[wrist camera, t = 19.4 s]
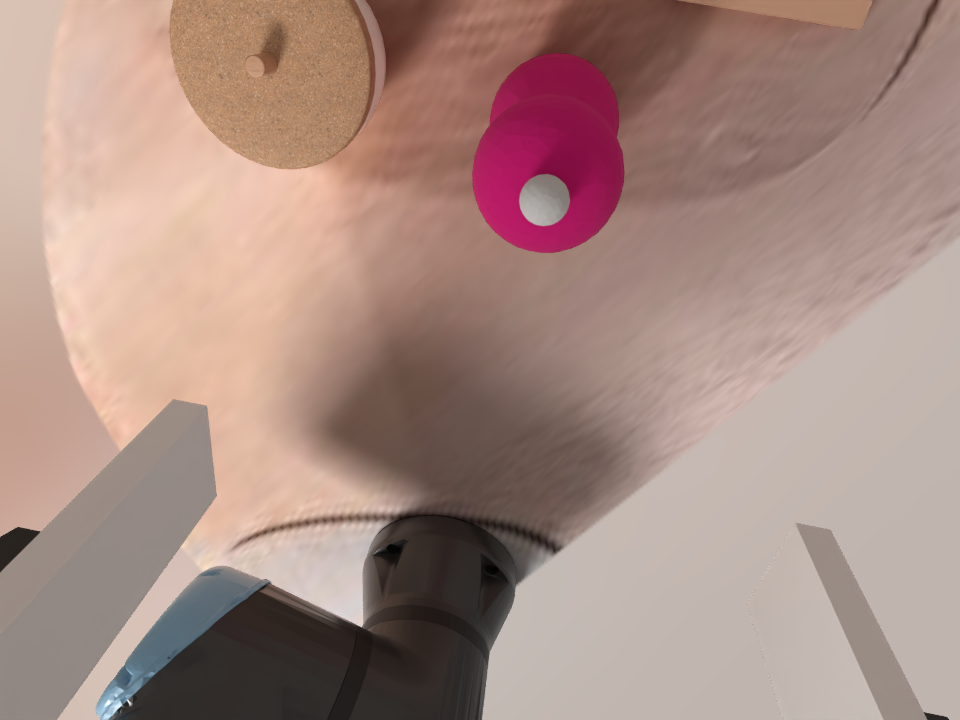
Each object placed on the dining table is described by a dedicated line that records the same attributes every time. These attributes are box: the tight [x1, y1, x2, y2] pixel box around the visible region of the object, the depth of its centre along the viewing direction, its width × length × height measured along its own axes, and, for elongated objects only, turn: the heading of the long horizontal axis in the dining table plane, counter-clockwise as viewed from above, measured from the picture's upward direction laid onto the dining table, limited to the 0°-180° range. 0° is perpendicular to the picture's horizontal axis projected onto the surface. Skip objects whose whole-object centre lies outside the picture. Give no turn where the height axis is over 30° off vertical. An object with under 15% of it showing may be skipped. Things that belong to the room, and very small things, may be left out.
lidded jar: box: [170, 0, 386, 169], centre depth 33 cm, size 11×11×9 cm
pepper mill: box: [472, 53, 624, 253], centre depth 29 cm, size 7×7×20 cm
